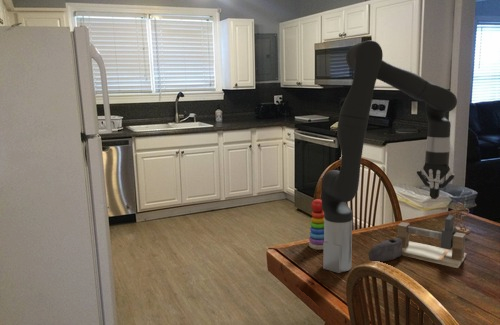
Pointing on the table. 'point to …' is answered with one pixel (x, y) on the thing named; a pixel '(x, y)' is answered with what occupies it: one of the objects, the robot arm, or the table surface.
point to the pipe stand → (432, 252)
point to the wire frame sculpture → (460, 228)
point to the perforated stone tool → (386, 250)
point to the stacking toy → (317, 226)
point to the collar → (448, 233)
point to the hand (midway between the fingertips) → (434, 198)
